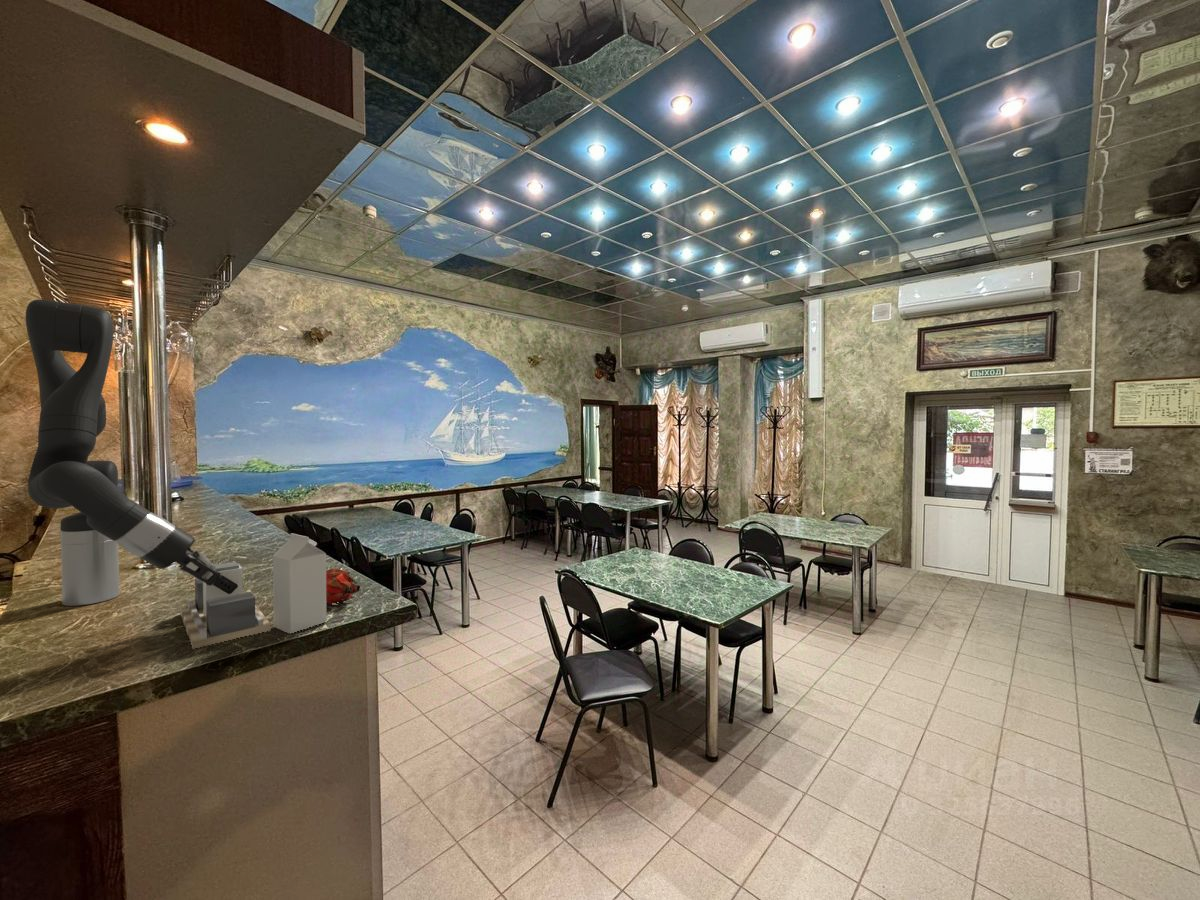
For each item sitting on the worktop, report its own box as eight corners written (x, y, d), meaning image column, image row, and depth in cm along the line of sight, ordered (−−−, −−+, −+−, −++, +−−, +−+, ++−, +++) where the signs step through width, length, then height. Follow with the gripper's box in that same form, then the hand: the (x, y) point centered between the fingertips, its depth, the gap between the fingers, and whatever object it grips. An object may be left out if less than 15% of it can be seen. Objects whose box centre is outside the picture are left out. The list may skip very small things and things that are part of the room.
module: (203, 615, 99) (202, 566, 99) (238, 608, 103) (238, 560, 103) (206, 622, 96) (205, 571, 95) (243, 614, 100) (242, 565, 100)
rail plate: (180, 614, 104) (179, 580, 103) (247, 601, 112) (247, 570, 112) (192, 649, 87) (192, 609, 87) (270, 630, 96) (270, 594, 95)
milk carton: (290, 635, 94) (289, 540, 93) (273, 627, 97) (272, 536, 97) (326, 623, 100) (326, 534, 99) (309, 616, 103) (308, 530, 103)
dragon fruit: (326, 601, 117) (350, 619, 110) (297, 589, 111) (320, 607, 104) (348, 570, 120) (373, 586, 114) (321, 557, 114) (345, 572, 107)
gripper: (177, 530, 89) (252, 577, 97) (171, 520, 99) (240, 564, 107) (138, 563, 85) (220, 609, 94) (136, 549, 95) (210, 592, 103)
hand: (230, 585), depth 100 cm, fingers open, 8 cm apart
